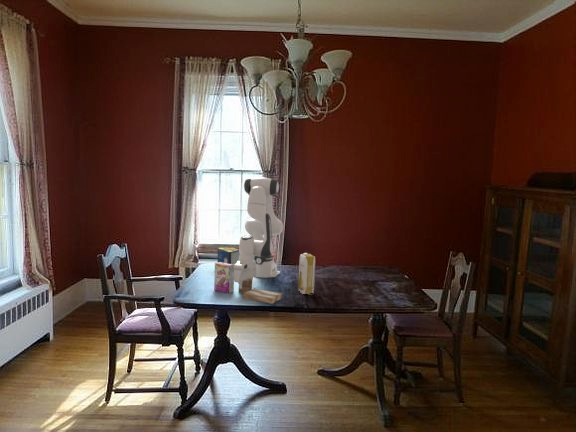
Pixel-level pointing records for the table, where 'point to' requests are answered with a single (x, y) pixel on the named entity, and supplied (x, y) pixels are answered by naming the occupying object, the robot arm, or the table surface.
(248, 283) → the walnut block
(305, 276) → the juice carton
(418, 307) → the table surface
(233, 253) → the protein box
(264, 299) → the plinth
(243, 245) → the robot arm
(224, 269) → the candy bar box
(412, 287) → the table surface
